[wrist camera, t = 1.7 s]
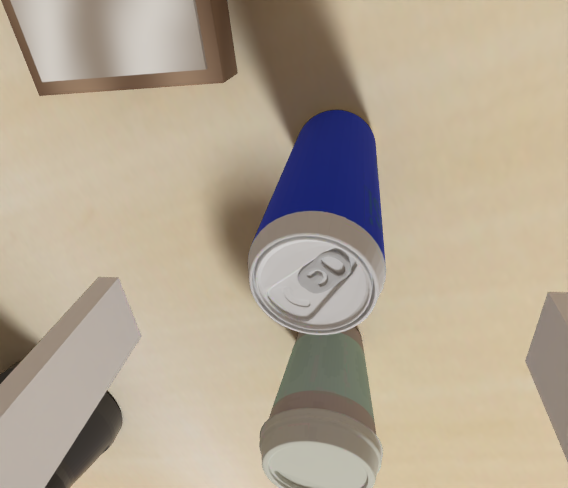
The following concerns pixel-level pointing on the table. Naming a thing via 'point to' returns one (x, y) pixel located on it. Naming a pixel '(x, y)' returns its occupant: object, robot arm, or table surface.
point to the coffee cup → (323, 417)
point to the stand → (123, 43)
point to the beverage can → (322, 231)
